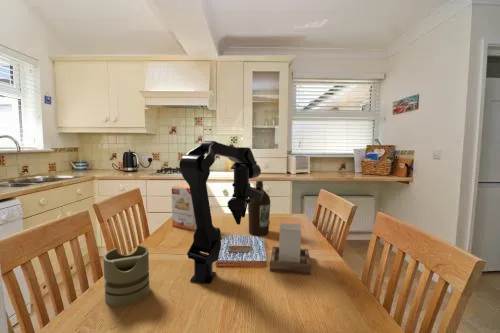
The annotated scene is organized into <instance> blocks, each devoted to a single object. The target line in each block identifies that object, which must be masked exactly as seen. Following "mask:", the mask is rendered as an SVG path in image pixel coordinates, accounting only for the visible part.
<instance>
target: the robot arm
mask: <svg viewBox="0 0 500 333" xmlns="http://www.w3.org/2000/svg"><path fill="white" fill-rule="evenodd" d="M216 156H219V157H224V158H227V159H229V161H231V162H233V164H232V165H231V166H230V169H231V170H233V183H232V184H231V185H232V188H233V193H232V197H231V198H230V199H229V200H228V201H227V208H228V209H229V210H230V212H231V214H232V217H233V218H234V221H235V223H236V225H238V226H240V225H241V221H242V218H245V217H246V212H247V210H248V209H247V208H248V203H249V202H250V201H251V200H252V198H253V199H255V200H257V201H261V199H262V196H263V193H264V192H263V191H262V187H260V186H257V187H256V186H255V187H253V186H251V183H250V179H254V178H258V177H259V176H260V175H261V172H262V170H261V167H260V166H259V165H258V164H257V162H258V161H257V160H256V159H255V157H254V154H253V151H252V149H251V148H250V147H243V146H242V147H241V146H238V147H237V146H231V145H227V144H225V143H220V142H218V141H216V140H204V141H202V142H201V143H199V145H198V146H196V147H194V148H193V149H190V150H189V151H188V152H186V154H185V155H183V156H182V157H181V159H180V160H179V163H178V164H179V170H180V172H181V175H182V178H183V179H184V181H185V182H186V183H187V184H188V186H189V187H190V192H191V198H192V204H193V209H194V215H195V221H196V227H197V229H196V230H194V233H193V242H192V243H191V245H190V247H189V249H188V251H187V253H186V255H187V258H188V259H189V260H193V272H194V273H193V276H192V277H191V278H190V280H189V282H191V283H198V284H207V285H210V284H211V283H212V282H213V280H214V278H215V276H216V274H217V272H216V271H213V266H214V265H213V264H214V263H215V262H216V261H218V260H219V258H220V253H221V249H222V240H223V237H222V236H221V229H220V228H219V227H216V226H214V224H213V219H212V213H211V206H210V205H211V204H210V201H209V199H210V198H209V194H208V187H207V186H208V185H207V181H208V180H209V176H210V174H211V171H210V170H211V169H210V168H211V166H212V165H213V164H215V161H216V160H215V159H216ZM249 197H250V199H249Z"/></svg>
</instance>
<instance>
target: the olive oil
mask: <svg viewBox="0 0 500 333" xmlns="http://www.w3.org/2000/svg"><path fill="white" fill-rule="evenodd" d="M257 186H260V187H262V191H263V192H264V193H263V196H262V199H261V201H257V200H255V199H253V198H252V200H251V201H250V202H249V203H248V205H247V208H248V209H247V210H248V213H247V214H248V233H249V235H251V236H254V237H264V236H267V235H269V232H270V222H271V221H270V215H271V198H270V196H269V194H268V193H267V192H266V191H265V189H264V181H263V180H256V181H255V188H256V187H257ZM248 199H250V197H248Z"/></svg>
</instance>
